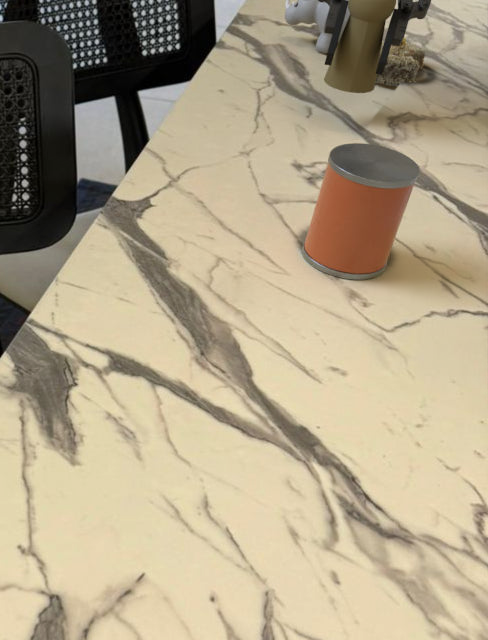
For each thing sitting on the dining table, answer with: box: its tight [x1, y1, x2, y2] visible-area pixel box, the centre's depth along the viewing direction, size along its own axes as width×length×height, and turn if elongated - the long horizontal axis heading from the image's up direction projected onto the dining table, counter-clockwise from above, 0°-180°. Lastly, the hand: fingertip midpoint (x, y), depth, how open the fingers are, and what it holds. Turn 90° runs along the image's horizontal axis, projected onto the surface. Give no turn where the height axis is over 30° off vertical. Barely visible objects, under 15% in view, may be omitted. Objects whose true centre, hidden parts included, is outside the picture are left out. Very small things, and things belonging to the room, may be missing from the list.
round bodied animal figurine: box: [284, 0, 350, 54], centre depth 144 cm, size 7×12×8 cm, turn 62°
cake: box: [375, 37, 426, 88], centre depth 138 cm, size 10×10×5 cm
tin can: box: [301, 142, 421, 281], centre depth 98 cm, size 8×8×10 cm
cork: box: [323, 0, 397, 94], centre depth 119 cm, size 6×6×11 cm
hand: (354, 63), depth 118 cm, fingers closed on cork, 5 cm apart
